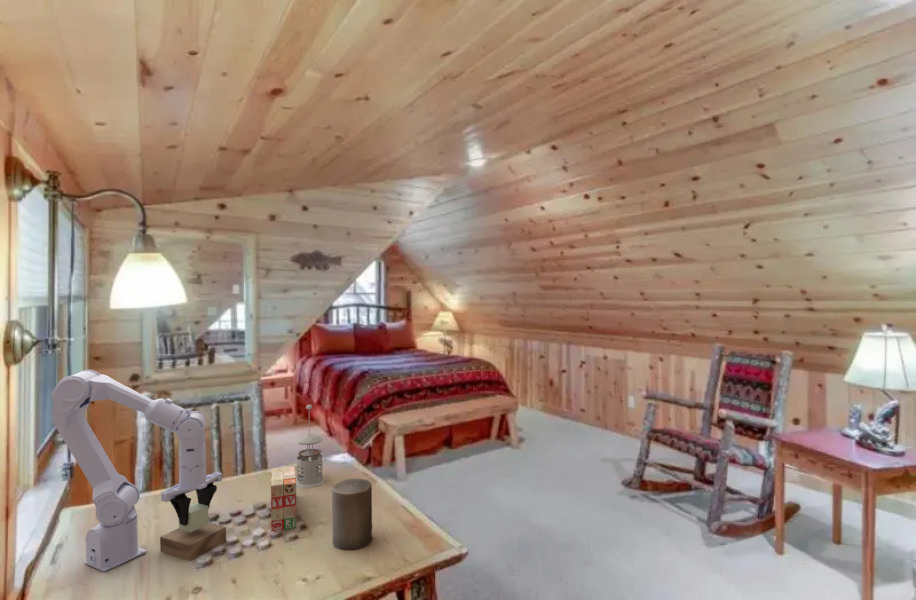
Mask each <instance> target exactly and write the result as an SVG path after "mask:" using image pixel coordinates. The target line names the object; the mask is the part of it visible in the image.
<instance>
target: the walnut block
mask: <svg viewBox="0 0 916 600" xmlns="http://www.w3.org/2000/svg"><path fill="white" fill-rule="evenodd" d="M159 541H160V545H159V547H160V549H159V550H160V553H162V554H164V555H165V554H166V555H168V556H171V557H174V558H179V559H181V560H185V561H188V562H191V561H193V560H195V559H197V558H200V557H201V556H203V555H204V554H206V553H208V552H210V551H212V550H213V549H215V548H217V547H218V546H220V545H222V544H224V543H226V542H227V526H226V525H225V526H224V525H221V524H217V523H213V522H209V521H208V525H206V526H204V527H201V528H199V529H197V530H195V531H193V532H189V531H186V530H183V529H180V528H179V527H178V528H176V529H174V530H171V531H169V532H167V533H166V534H164V535H161V536H160V537H159Z"/></svg>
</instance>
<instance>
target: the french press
mask: <svg viewBox="0 0 916 600" xmlns="http://www.w3.org/2000/svg"><path fill="white" fill-rule="evenodd" d="M305 408H306V409H307V410H308V433H307V434H304V435H301V436H300V437H298V438H297V439H296V440H295V441H296V443H297V444H298V445H301V446H302V445H303V446H306V449H301V450H300V451H298V453H297V454H298V456H297V457H296V488H298V487H299V488H300V489H312V488H317V487H321V486H322V485H324V484H325V483H326V481H325V480H326V479H325V477H323V455H322V454H321V453H322V450H321V449H319V448H314V445H316V444H319V443H321V442H323V440H324V439H323V437H322V436H320V435H317V434H314V433H311V432H310V431H311V429H310V428H311V426H310V425H311V424H310V423H311V422H310V419H311V417H310V414H311V413H310V410H311V409H313V405H312V404H307V405H306V407H305ZM309 459H310V460H309ZM323 483H324V484H323Z"/></svg>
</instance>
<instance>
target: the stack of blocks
mask: <svg viewBox="0 0 916 600" xmlns="http://www.w3.org/2000/svg"><path fill="white" fill-rule="evenodd" d="M270 470H271V473H270V474H271V477H270V479H271V481H270V511H271V513H270V514H271V516H270V532H272V531H274V532H277V531H276V530H281V531H285V530H293V529H297V487H296V480H297V475H296V470H295V466H284V467H279V468H277V467H276V468H271V469H270ZM272 533H273V532H272Z"/></svg>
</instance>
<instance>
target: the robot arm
mask: <svg viewBox="0 0 916 600" xmlns="http://www.w3.org/2000/svg"><path fill="white" fill-rule="evenodd" d="M50 395H51V396H50V397H51V398H52V412H51V413H52V414H51V421H52V423H53V425H54V427H55V428H56V430H57V431H58V434H59V435H60V437H61V438H62V440H63V442H64V443H65V445H66V447H67V448H68V450H69V452H70V453H71V454H72V456H73V458H74V459H75V461H76V463H77V464H78V466H79V468H80V469H81V471H82V474H84V476H85V478H86V480H87V481H88V483H89V484H90V486H91V487H92V502H93V504H94V506H95V516H96V519H97V520H98V521H99V523H98V524H97V525H95V526H93V527H92V528H90V529H88V530H87V532H86V536H85V552H86V557H85V561H84V564H86V565H88V566H90V567H92V568H94V569H97V570H99V571H100V572H107V571H109V570H111V569H113V568H115V567H118V566H119V565H122V564H124V563H127V562H129V561H131V560H132V559H136V558H137V557H139V556H142V555H143V554H146V552H147V549H144V548H142V547H140V546H139V540H138V539H139V538H138V532H139V531H138V511H137V509H136V508H135V505H136V504H138V501H139V499H140V490H139V488H138V487H137V486H136V485H135V484H133V483H132V482H130V481H129V480H128V479H127V477H126V476H124V475H122V474H120V473H118V471H117V470H116V468H115V466H114V464H113V463H112V461H111V460H110V458H109V456H108V454H107V453H106V451H105V449H104V448H103V446H102V444H101V442H100V441H99V439H98V437H97V436H96V435H95V433H94V431H93V429H92V428H91V426H90V424H89V423H88V421H87V420H86V417H85V416H84V415H85V413H86V411H87V409H88V407H89V405H90V403H91V402H95V401H103V400H110V401H113V402H115V403H118V404H119V405H120V404H121V405H122V406H125V407H128V408H130V409H133V410H136V411H138V412H141V413H143V414H144V417H145V420H146V421H147V422H149V423H152V424H153V425H156V426H158V427H160V428H161V429H162V428H163V429H164V430H167V431H169V432H171V433H175V435H176V437H177V438H178V440H179V446H178V466H179V467H178V468H179V469H178V470H179V471H178V472H179V477H178V478H179V480H178V483H177V484H175V485H173V486H172V487H170V488H168V489H166V490H164V491H162V492H160V501H162V502H165V503H167V502H170V504H171V505H172V507H173V509H174V511H175V513H176V516H177V518H178V523H179V522H180V524H181V525H184V526H186V525H188V518H189V506H190V505H191V501H192V498H191V497H188V495H187V494H188V493H191V492H194V491H195V492H196V497H197V503H200V504H203V505H206V506H208V510H209V508H210V505H211V502H212V500H213V497H214V495H215V494H216V492H217V490H218V486H217V485H215V483H217V482H218V483H220V482H222V481H223V473H222V472H218V471H216V472H213V473H210V474H207V453H206V452H207V449H206V447H207V445H206V434H205V431H206V429H207V425H208V419H207V417H206V416H205V415H204V414H203V413H201V412H200V411H199V410H195V411H194V410H193V411H192V409H190V408H183V407H182V406H179V405H177V404H175V403H173V399H171V398H168V397H167V398H162V397H161V398H158V399H151V398H150V397H148V396H146V395H144V394H142V393H140V392H138V391H136V390H134V389H133V388H130V387H128V386H126V385H125V384H122V383H121V382H119V381H117V380H115V379H114V378H112V377H110V376H108V375H107V374H103V373H102V374H100V373H99V372H98V371H96V370H94V369H85V370H81V371H79V372H77V373H75V374H73V375H72V374H71V375H68V376H65V377H62V378H61V379H60V380H59V381H58V383H56V385H55V387H54V389H53V390H52V392H51V394H50Z"/></svg>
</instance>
